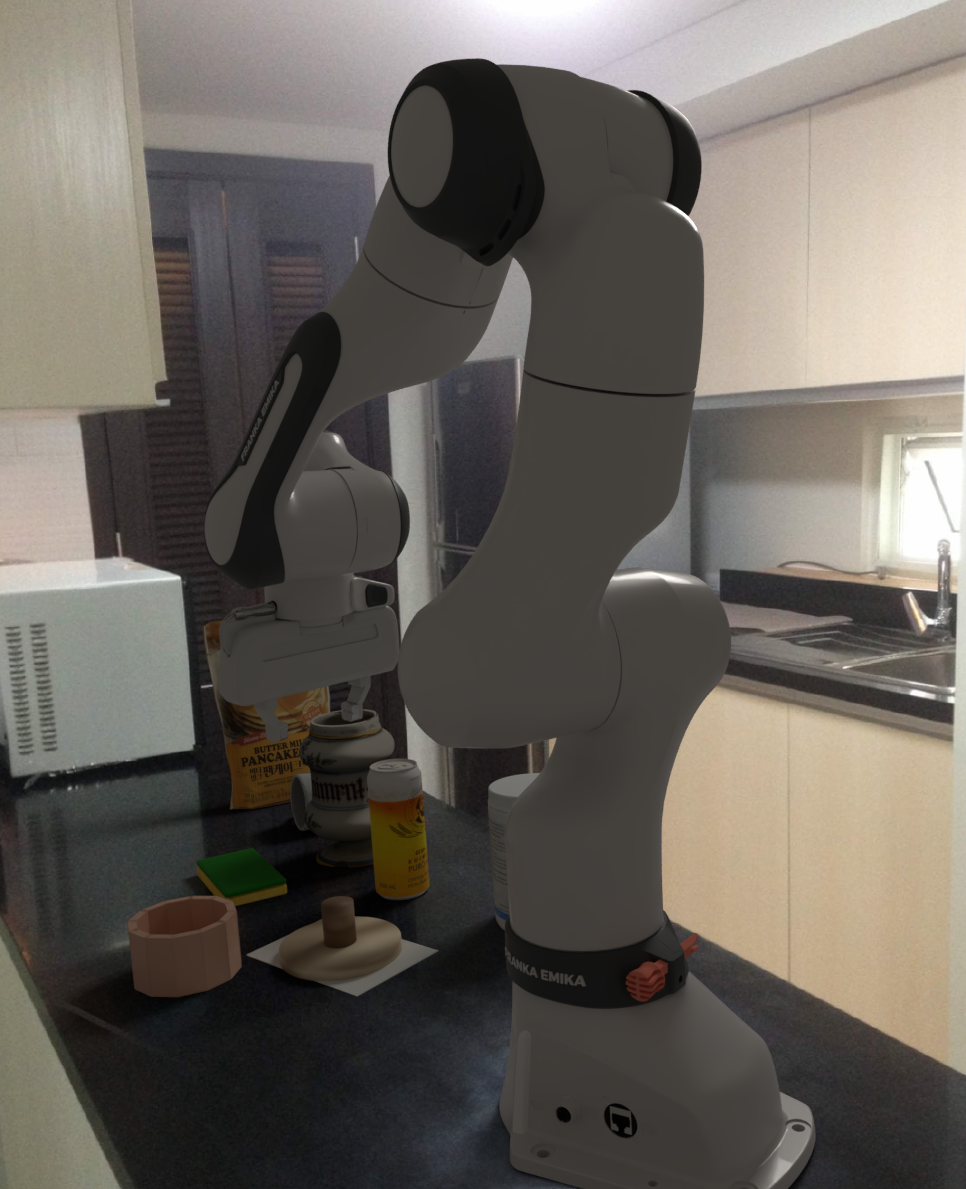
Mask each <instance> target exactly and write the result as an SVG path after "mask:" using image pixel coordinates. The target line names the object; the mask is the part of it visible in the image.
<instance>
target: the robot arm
mask: <svg viewBox="0 0 966 1189" xmlns="http://www.w3.org/2000/svg"><path fill="white" fill-rule="evenodd" d="M391 118H392V119H391V120H390V126H389V132H388V137H387V167H388V174H389V176H388V178H387V180H386V182H385V185H384V186H383V189H382V191H381V194H380V196H379V198H378V200H377V204H376V205H375V206H376V207H375V210H374V212H373V215H372V217H371V220H370V223H369V226H368V229H367V234H366V236H365V240H364V243H363V246H362V248H361V252H360V254H359V257H358V259H357V262H356V264H354V267H353V269H352V271H351V273H350V274H349V275H348V277H347V278H346V280H345V281H344V283H343V285H342V286H341V287H340V289H339V290H338V291H337V292H336V294H334V296H333V297H332V298H331V299H330V300H329V302H328V303H326V304H325V305H324V307H322V309H320V311H318V312H316V313H315V314H313V315H311V316H310V317H309V318H307V319H306V320H304V321H303V322H302V323H301V324H300V325H299V326H298V327H297V328H296V330H295V331H294V333H293V335H292V336H291V338H290V339H289V341H288V343H287V345H286V347H285V349H284V351H283V353H282V355H281V357H280V360H279V361H278V364H277V366H276V368H275V370H274V371H273V374H272V377H271V379H270V380H269V383H268V385H267V388H266V390H265V391H264V394H263V396H262V398H261V400H260V403H259V404H258V407H257V409H256V411H255V414H254V416H253V419H252V420H251V423H250V425H249V426H248V427H249V428H248V429H247V431H246V434H245V436H244V438H243V441H242V443H241V445H240V447H239V449H238V452H237V454H236V456H235V458H234V460H233V462H232V464H231V465H230V467H229V468H228V470H227V471H226V473H225V474H224V476H223V477H222V478H221V479H220V481H219V483H218V484H217V486H216V487H215V489H214V490H213V492H212V493H211V495H210V497H209V499H208V501H207V504H206V508H205V512H204V519H203V538H204V544H205V549H206V553H207V555H208V558H209V559H210V561H211V562H212V564H213V565H214V566H215V567H216V568H217V570H219V571H220V572H221V573H222V574H224V575H225V576H226V577H228V578H229V579H230V580H232V581H234V582H235V583H237V585H240V586H242V587H244V588H246V589H247V590H255V589H260V588H264V589H263V590H264V591H263V592H264V603H263V602H261V603H257V604H254V605H250V606H238V607H235V608H233V609H231V611H230V613H229V614H226V615H225V617H224V618H223V619H222V620H223V621H222V622H221V624H220V627H219V635H220V646H221V649H220V659H219V692H220V694H221V695H222V696H223V698H224V699H225V700H226V701H228V702H231V703H233V704H237V705H240V706H248V705H252V704H254V709H255V710H256V712H257V713H258V714H259V716H260V717H261V719H262V720H263V722H264V723H265V727H266V738H267V740H268V741H271V742H274V743H275V742H279V741H282V740H285V739H288V733H287V731H288V723H287V722H281V721H280V720H278V718H277V716H276V714H275V713H274V711H273V709H277V708H278V698H281V697H285V696H289V695H293V694H297V693H301V692H305V691H310V690H314V689H318V688H322V687H326V686H329V687H331V686H332V685H338V684H342V683H346V682H347V684H348V685H350V691H349V694H348V697H347V698H346V701H343V702H341V703H340V710H342V713H341V714H342V718H343V719H344V720H347V721H349V722H351V721H355V720H359V719H361V718H362V717H363V709H364V708H363V703H364V702H365V700H366V697H367V695H368V693H369V691H370V689H371V686H372V684H371V683H372V680H371V676H375V675H379V674H384V673H387V672H392V671H393V670H395V668H396V666H397V679H398V685H399V686H398V687H399V691H400V694H401V696H402V699H403V702H404V705H405V707H406V709H407V711H408V713H409V714H410V716H411V718H412V719H413V721H414V722H415V723H416V725H417V726H418V727H419V729H420V730H422V732H424V734H426V736H428V737H429V738H430V739H431V740H432V741H434V742H435V743H436V744H438V745H440V746H441V747H445V748H454V749H456V748H458V749H512V748H518V747H522V746H527V745H530V744H534V743H535V744H536V743H540V742H544V741H549V740H552V739H555V743H554V745H553V748H552V751H551V753H550V755H549V757H548V760H547V762H546V763H545V765H544V766H543V768H542V770H541V771H540V772H539V773H540V774H539V775H538V776H537V778H536V779H535V780H534V781H533V782H532V783H531V784H530V785H529V786H528V787H527V788H526V789H525V790H524V791H523V792H522V793H521V794H520V795H519V797H518V798H517V799H516V800H515V802H514V803H513V805H512V807H511V809H510V811H509V814H508V817H507V820H506V825H505V832H504V834H505V849H506V865H507V881H508V897H509V913H510V915H509V916H508V917H507V919H506V922H505V930H504V940H505V941H504V943H505V944H504V945H505V946H504V951H505V952H504V953H505V954H504V955H505V964H506V972H507V975H508V977H509V978H510V979H511V980H512V981H511V982H512V983H511V984H512V985H511V986H512V989H511V990H512V991H511V992H512V994H511V995H512V997H511V1000H512V1001H511V1005H512V1006H511V1026H510V1027H511V1028H510V1029H511V1030H510V1041H509V1051H508V1059H507V1065H506V1071H505V1076H504V1082H503V1087H502V1090H501V1094H500V1097H499V1104H498V1106H499V1113H500V1114H499V1115H500V1117H501V1119H502V1120H501V1121H502V1122H503V1125H504V1126H505V1129H506V1130H507V1132H508V1134H509V1136H510V1138H509V1139H510V1140H509V1141H510V1142H509V1162H510V1165H511V1166H512V1167H513V1168H514V1169H515V1170H518V1171H519V1172H524V1173H526V1174H530V1175H534V1176H538V1177H540V1178H545V1179H548V1180H552V1181H555V1182H559V1183H561V1184H565V1185H569V1186H573V1187H575V1188H576V1187H577V1188H579V1189H789V1188H790V1187H791V1186H792V1184H793V1183H794V1182H795V1181H796V1180H797V1178H798V1177H799V1176H800V1174H801V1173H802V1172H803V1170H804V1168H805V1167H806V1166H807V1164H808V1161H810V1159H811V1156H812V1154H813V1150H814V1148H815V1145H816V1144H815V1143H816V1138H817V1136H816V1126H815V1125H816V1124H815V1119H814V1115H813V1113H812V1109H811V1108H810V1107H809V1106H808V1105H807V1104H806V1103H804V1102H802V1101H800V1100H798V1099H796V1098H794V1097H792V1096H790V1095H788V1094H786V1093H784V1092H782V1091H780V1086H779V1085H780V1084H779V1081H778V1077H777V1071H776V1068H775V1064H774V1061H773V1056H772V1054H771V1052H770V1049H769V1047H768V1045H767V1043H766V1041H765V1040H764V1039H763V1038H762V1036H760V1035H759V1033H757V1032H756V1031H755V1030H754V1029H752V1027H750V1026H749V1025H748V1024H747V1023H746V1022H745V1021H744V1020H742V1019H741V1018H740V1017H739V1016H738V1015H737V1014H736V1013H735V1012H734V1011H732V1010H731V1009H730V1008H729V1007H728V1006H727V1005H726V1004H725V1003H724V1002H723V1001H721V999H719V998H718V997H717V995H715V994H714V993H713V992H712V991H711V990H710V989H709V988H708V987H707V986H706V985H705V984H704V983H702V981H700V980H699V979H698V978H697V977H696V976H695V975H694V974H693V973H692V972H691V971H690V970H689V969H690V967H689V963H688V960H687V958H689V957H690V956H692V954H694V953H695V952H696V951H697V950H698V949H699V948H700V946H699V944H696V942H697V939H698V938H699V934H698V933H696V932H695V933H693V934H692V935H690V936H689V937H687V938H686V939H685V940H683V941H682V942H680V941H679V937H678V936H677V933H676V931H675V929H674V926H673V923H672V922H671V920H670V917H669V915H668V914H667V912H666V910H664V899H663V895H664V893H663V869H662V868H663V861H662V860H663V859H662V858H663V852H662V851H663V848H662V847H663V846H662V844H663V840H662V839H663V836H662V833H663V832H662V831H663V829H662V828H663V815H664V806H665V799H666V796H667V791H668V790H667V789H668V786H669V782H670V779H671V778H670V777H671V775H672V770H673V767H674V766H675V765H674V764H675V761H676V758H677V756H678V753H679V750H680V746H681V744H682V742H683V739H684V736H685V734H686V733H687V730H688V728H689V725H690V724H691V721H692V720H693V718H694V716H695V714H696V713H697V711H698V709H699V708H700V706H702V703H703V702H704V701H705V700H706V698H707V697H708V696H709V695H710V693H712V691H713V690H714V689H715V688H716V687H717V686H718V685H719V684H720V682H721V681H722V679H723V677H724V676H725V673H726V671H727V669H728V666H729V663H730V657H731V651H732V650H731V649H732V632H731V627H730V622H729V619H728V615H727V613H726V610H725V608H724V606H723V604H722V601H721V600H720V598H719V597H718V595H717V594H716V592H715V591H714V590H713V589H712V588H711V586H709V585H708V584H707V582H705V581H703V580H702V579H701V578H699V577H697V576H695V575H693V574H690V573H686V572H681V571H680V572H678V571H672V570H666V569H660V568H659V569H657V568H650V567H628V568H620V569H619V567H620V565H622V563H623V562H624V560H625V558H626V557H627V556H628V554H629V553H630V552H631V551H632V550H633V549H634V548H635V546H636V545H637V544H639V543H640V542H641V541H643V539H645V538H646V537H647V536H648V535H649V534H650V533H652V532H653V531H654V530H656V528H658V526H660V525H661V524H662V523H663V522H664V521H665V520H666V518H667V517H668V516H669V515H670V513H671V511H672V510H673V508H674V507H675V504H676V501H677V500H678V497H679V492H680V487H681V480H682V474H683V470H684V469H683V467H684V462H685V458H686V457H685V456H686V450H687V445H688V438H689V433H690V426H691V420H692V414H693V413H692V412H693V408H694V400H695V397H696V389H697V382H698V378H699V376H698V375H699V371H700V363H701V353H702V343H703V331H704V315H705V314H704V312H705V258H704V245H703V240H702V236H701V234H700V232H699V229H698V228H697V226H696V225H695V222H693V220H692V219H691V218H690V217H689V216H690V215H691V212H692V210H693V209H694V206H695V204H696V201H697V198H698V196H699V195H698V194H699V190H700V186H701V181H702V180H701V179H702V170H703V169H702V164H703V163H702V153H701V147H700V143H699V140H698V136H697V133H696V131H695V129H694V127H693V126H692V124H691V122H690V121H689V120H688V118H687V117H686V116H685V115H684V114H683V113H682V112H681V111H680V110H678V109H677V108H676V107H674V106H673V105H671V104H670V103H668V102H666V101H665V100H663V99H661V98H660V97H657V96H655V95H653V94H650V93H648V92H646V91H643V90H638V89H629V90H626V89H623V88H620V87H618V86H614V85H611V84H609V83H604V82H601V81H598V80H594V79H591V78H587V77H582V76H580V75H578V74H576V73H575V72H573V71H569V70H566V69H560V68H553V67H548V66H547V67H546V66H537V65H536V66H535V65H526V64H496V63H495V62H493V61H491V60H489V59H486V58H478V57H477V58H460V59H452V60H445V61H441V62H440V61H439V62H436V63H433V64H431V65H428V66H425V67H424V68H422V69H421V70H420V71H419V72H417V73H416V74H415V75H414V76H413V77H412V79H411V80H410V82H408V84H407V86H406V87H405V88H404V91H403V92H402V95H401V96H400V99H399V100H398V102H397V104H396V106H395V109H394V112H393V115H392V117H391ZM513 259H514V260H515V261H516V262H517V263H518V264H519V266H520V267H521V269H522V270H523V272H524V274H525V276H526V278H527V281H528V285H529V289H530V298H531V300H530V315H529V317H530V319H529V323H528V324H529V325H528V333H527V337H526V344H525V351H524V352H525V353H524V358H523V359H524V361H523V369H522V377H521V386H520V387H521V388H520V396H519V404H518V410H517V411H518V412H517V419H516V426H515V431H514V439H513V445H512V450H511V456H510V462H509V469H508V473H507V478H506V483H505V485H504V490H503V493H502V494H501V495H502V496H501V498H500V501H499V503H498V506H497V509H496V511H495V513H494V515H493V517H492V519H491V522H490V523H489V526H488V528H487V530H486V531H485V534H484V535H483V538H482V539H481V541H480V542H479V543H478V545H477V547H476V549H475V550H474V552H473V554H472V555H471V556H470V558H469V559H468V561H467V563H466V564H465V565H464V566H463V568H462V569H461V570H460V572H459V573H458V574H457V575H456V576H455V578H454V579H453V580H452V581H451V582H450V583H449V584H448V585H447V586H446V588H444V589H443V590H442V591H441V592H440V593H439V594H438V595H436V597H434V599H432V600H431V601H429V602H428V603H427V604H425V605H424V606H423V607H421V608H420V609H419V610H418V611H416V613H415V614H414V616H413V617H412V618H411V620H410V622H409V624H408V626H407V628H406V630H405V632H404V634H403V637H402V640H401V643H400V638H399V626H398V620H397V616H396V615H397V614H396V613H395V610H393V608H392V607H391V605H392V604H393V603H394V601H395V589H394V586H393V585H391V584H388V583H386V582H380V581H376V580H372V579H368V578H364V577H363V576H360V575H356V574H355V573H364V572H372V571H375V570H378V569H383V568H384V567H389V566H391V565H392V564H393V563H394V562H395V561H396V560H397V559H398V558H399V557H400V555H401V554H402V552H403V551H404V548H405V546H406V544H407V541H408V538H409V534H410V529H411V527H410V526H411V517H410V515H411V514H410V506H409V502H408V498H407V496H406V494H405V492H404V490H403V489H402V487H401V486H400V484H398V482H397V481H396V479H394V478H393V477H392V476H391V475H390V474H388V473H387V472H386V471H384V470H376V469H375V468H371V467H370V466H368V465H366V464H365V463H363V462H361V461H360V460H358V459H357V458H355V457H354V456H352V454H350V452H349V451H348V449H347V445H346V443H345V441H344V439H343V437H342V436H341V435H340V434H339V433H336V432H333V431H329V430H326V429H327V428H328V426H330V424H331V423H332V422H334V420H335V419H337V418H338V417H339V416H341V415H342V414H344V413H346V412H347V411H349V410H351V409H353V408H355V407H356V406H360V405H361V404H363V403H365V402H368V401H370V400H374V399H375V398H378V397H381V396H384V395H387V394H390V393H392V392H396V391H399V390H403V389H406V388H410V387H413V386H418V385H421V384H426V383H429V382H431V381H434V380H437V379H440V378H441V377H443V376H445V375H447V374H449V373H450V372H453V371H454V370H455V369H457V368H458V367H460V366H461V365H462V364H464V362H465V361H467V359H468V358H469V357H470V356H471V354H472V352H474V350H475V349H476V348H477V346H478V344H479V343H480V341H482V338H483V336H484V335H485V334H486V331H487V330H488V327H489V325H490V322H491V319H492V317H493V314H494V311H495V308H496V306H497V303H498V301H499V299H500V296H501V293H502V290H503V287H504V284H505V281H506V279H507V277H508V274H509V271H510V267H511V264H512V261H513ZM354 574H355V575H354ZM250 616H251V617H250ZM231 618H233V619H234V620H229V619H231Z"/></svg>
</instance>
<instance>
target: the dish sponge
mask: <svg viewBox="0 0 966 1189" xmlns="http://www.w3.org/2000/svg"><path fill="white" fill-rule="evenodd" d="M196 866H197V867H196V868H197V869H196V870H197V877H198V878H199V879H200V880H201V881H202V883H203V884H204V885H205V886H206V888H208V890H209V891H210V892H211V893H212V896H218V897H221V898H224V899H227V900H231V901H233V903H234V906H235V907H237V906H241V905H247V904H251V903H254V902H258V901H262V900H266V899H270V898H271V899H272V898H274V897H278V896H282V895H286V894H287V893H288V884H287V878H286V877H284V875H282V874H281V873H280V872H279V871H278V870H277V869H276V868H275V867H274V866H273V865H272V864H271V863H269V861H267V860H266V858H265V857H263V856H262V855H261V854H260V853H258V851H256V849H255V848H253V847H249V848H246V849H245V848H244V849H241V850H236V851H233V852H228V853H224V854H218V855H215V856H211V857H210V856H209V857H206V858H202V859H198V860H196Z"/></svg>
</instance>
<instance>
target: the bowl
mask: <svg viewBox="0 0 966 1189" xmlns="http://www.w3.org/2000/svg"><path fill="white" fill-rule="evenodd" d="M238 921H239V920H238V911H237V908H236V906H234V903H233V901H231V900H227V899H224V898H221V897H218V896H214V895H190V896H184V897H179V898H173V899H166V900H163V901H161V902H158V903H155V904H153V905H151V906H148V907H145V908H143V909H140V910H139V911H138V912H137V913H136V914H134V915H133V916H132V917H131V918H130V919H129V920H127V929H128V930H127V931H128V932H127V933H128V941H129V949H130V959H131V961H130V962H131V968H132V969H131V970H132V979H133V989H134V990H136V991H138V992H140V993H143V994H145V995H146V996H149V997H154V998H156V997H159V998H167V997H168V998H180V997H184V996H185V997H186V996H189V995H190V996H191V995H195V994H198V993H202V992H203V993H204V992H207V991H209V990H212V989H215V988H216V987H218V986H221V985H222V984H224V983H226V982H229V981H230V980H232V979H233V978H234V977H235V975H236V974H237V973H238V972H239V971H240V969H241V968H242V967H243V964H242V954H241V943H240V941H241V940H240V931H239V922H238Z"/></svg>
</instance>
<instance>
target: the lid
mask: <svg viewBox="0 0 966 1189" xmlns="http://www.w3.org/2000/svg"><path fill="white" fill-rule="evenodd" d="M354 901H355V900H354V899H353V897H350V896H345V895H338V896H332V897H328V898H327V899H324V900H323V901H322V902H321V903H320V908H321V909H320V911H321V919H322V921H319V920H318V921H319V922H317V921H315V922H316V923H315V922H313V923H310V924H308V925H305V926H303V927H300V928H298V929H296V930H294V931H293V932H291V933H290V935H289V934H287V935H288V936H287V935H286V936H287V937H286V938H285V939H284V940H283V941H282V943H281V944H280V947H279V956H280V964H281V967H282V968H283V969H282V970H283V971H284V972H286V973H287V974H288V975H291V976H292V977H294V978H298V979H301V980H305V981H312V982H313V981H314V982H316V981H335V980H344V979H350V978H356V977H360V976H363V975H367V974H370V973H372V972H375V971H378V970H380V969H382V968H384V967H385V966H387V965H389V964H390V963H392V962H393V961H394V960H395V959H396V958H397V957H398V956H399V954H400V953H401V950H402V940H401V939H402V932H401V931H400V929H399V928H398V927H397V926H396V925H395V924H394V923H392V922H390V921H388V920H386V919H385V920H384V919H381V918H377V917H371V916H355V915H356V914H355V902H354Z"/></svg>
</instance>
